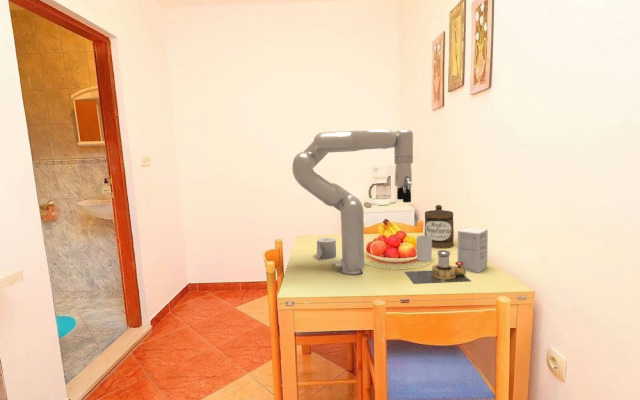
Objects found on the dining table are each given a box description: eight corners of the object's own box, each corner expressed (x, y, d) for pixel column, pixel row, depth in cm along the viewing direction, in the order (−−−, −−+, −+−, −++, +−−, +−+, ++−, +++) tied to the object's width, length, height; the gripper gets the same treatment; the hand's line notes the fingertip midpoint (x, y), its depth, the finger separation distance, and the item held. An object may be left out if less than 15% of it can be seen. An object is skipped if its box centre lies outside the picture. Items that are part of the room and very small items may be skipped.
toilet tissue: (315, 261, 169) (314, 244, 168) (319, 253, 182) (318, 237, 181) (334, 261, 168) (333, 244, 167) (336, 253, 181) (336, 237, 180)
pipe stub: (439, 276, 136) (440, 253, 135) (435, 272, 141) (435, 250, 140) (451, 275, 136) (451, 253, 135) (447, 271, 141) (447, 250, 140)
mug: (431, 265, 157) (431, 239, 155) (416, 264, 159) (416, 238, 157) (432, 258, 166) (432, 234, 165) (417, 258, 168) (417, 233, 167)
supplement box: (488, 267, 151) (488, 229, 149) (479, 273, 144) (480, 233, 142) (465, 263, 158) (466, 226, 155) (456, 268, 151) (457, 230, 149)
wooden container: (423, 247, 187) (423, 206, 184) (426, 241, 200) (426, 202, 198) (452, 249, 181) (453, 207, 178) (453, 242, 194) (454, 203, 192)
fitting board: (413, 287, 131) (413, 270, 131) (404, 275, 145) (403, 259, 145) (471, 285, 132) (472, 268, 131) (456, 272, 146) (456, 257, 145)
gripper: (390, 160, 155) (390, 198, 157) (399, 160, 138) (400, 203, 140) (406, 159, 155) (407, 197, 157) (418, 160, 138) (418, 203, 140)
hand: (403, 200), depth 149 cm, fingers open, 9 cm apart
